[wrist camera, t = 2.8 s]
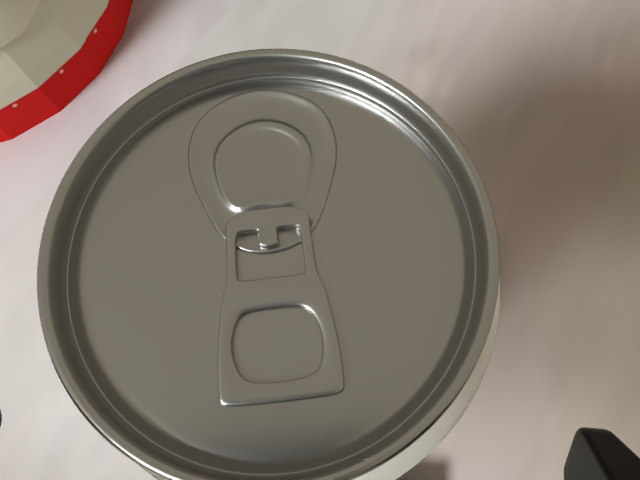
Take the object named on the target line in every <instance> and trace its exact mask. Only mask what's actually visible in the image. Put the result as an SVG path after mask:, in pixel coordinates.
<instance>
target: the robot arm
mask: <svg viewBox="0 0 640 480" xmlns="http://www.w3.org/2000/svg"><path fill="white" fill-rule="evenodd" d="M1 420H2V414H1V410H0V426H1ZM564 480H640V458H639V457H638V456H637V455H636V454H635V453H633V452H632V451H631V450H630V449H629V448H628V447H627V446H626V445H625V444H624V443H623V442H622V441H621V440H619V439H618V438H617V437H616V436H615V435H614V434H613V433H612V432H610V431H608V430H606V429H597V428H585V427H583V428H580V429H578V430H577V431H576V434H575V436H574V439H573V442H572V445H571V448H570V451H569V454H568V457H567V460H566V463H565V467H564Z"/></svg>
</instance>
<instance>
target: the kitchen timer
mask: <svg viewBox="0 0 640 480" xmlns="http://www.w3.org/2000/svg"><path fill="white" fill-rule="evenodd" d="M131 4H132V0H0V142H4V141H7V140H10V139H13V138H15V137H17V136H18V135H20V134H22V133H24V132H25V131H27V130H29V129H31V128H32V127H34V126H36V125H37V124H39V123H41V122H43V121H44V120H46V119H48V118H50V117H51V116H53V115H55V114H57V113H58V112H60V111H61V110H62V109H63V108H64V107H65V106H66V105H67V104H69V103H70V102H71V101H72V100H73V99H74V98H75V97H76V96H77V95H78V94H79V93H80V92H81V91H82V90H83V89H84V88H85V87H86V86H87V85H88V84H89V83H91V82H92V81H93V80H94V79H95V78H96V77H97V76H98V75H99V73H100V72H101V70H102V68H103V67H104V65H105V63H106V62H107V60H108V59H109V57H110V55H111V54H112V52H113V50H114V49H115V47H116V45H117V44H118V42H119V41H120V39H121V37H122V36H123V34H124V31H125V27H126V23H127V19H128V15H129V12H130V8H131Z"/></svg>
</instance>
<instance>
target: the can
mask: <svg viewBox="0 0 640 480" xmlns="http://www.w3.org/2000/svg"><path fill="white" fill-rule="evenodd" d="M499 271H500V259H499V243H498V235H497V228H496V223H495V218H494V214H493V210H492V206H491V203H490V199H489V197H488V194H487V191H486V188H485V186H484V183H483V181H482V178H481V176H480V174H479V172H478V170H477V168H476V166H475V164H474V162H473V160H472V159H471V157H470V155H469V154H468V152H467V150H466V149H465V147H464V146H463V144H462V143H461V141H460V140H459V139H458V137H457V136H456V135H455V133H454V132H453V131H452V130H451V128H450V127H449V126H448V125H447V124H446V123H445V121H444V120H443V119H442V118H441V117H440V116H439V115H438V114H437V113H436V112H435V111H434V110H433V109H432V108H431V107H430V106H428V105H427V104H426V103H425V102H424V101H423V100H421V99H420V98H419V97H418V96H416V95H415V94H414V93H412V92H411V91H410V90H408V89H407V88H405V87H404V86H402V85H401V84H399V83H398V82H396V81H394V80H393V79H391V78H389V77H387V76H386V75H384V74H382V73H380V72H378V71H376V70H373V69H371V68H369V67H367V66H364V65H362V64H359V63H356V62H353V61H351V60H348V59H344V58H341V57H337V56H333V55H329V54H324V53H319V52H313V51H306V50H296V49H258V50H248V51H241V52H235V53H230V54H225V55H221V56H217V57H213V58H209V59H206V60H203V61H200V62H197V63H194V64H192V65H189V66H186V67H184V68H182V69H179V70H177V71H175V72H173V73H171V74H169V75H167V76H165V77H163V78H161V79H159V80H158V81H156V82H154V83H152V84H151V85H149V86H148V87H146V88H144V89H143V90H141V91H140V92H138V93H137V94H136V95H134V96H133V97H132V98H130V99H129V100H128V101H126V102H125V103H124V104H123V105H121V106H120V107H119V108H118V109H117V110H116V111H115V112H113V113H112V114H111V115H110V116H109V117H108V118H107V119H106V120H105V121H104V122H103V123H102V124H101V125H100V126H99V127H98V128H97V130H96V131H95V132H94V133H93V134H92V135H91V136H90V138H89V139H88V140H87V141H86V143H85V144H84V145H83V147H82V148H81V149H80V151H79V152H78V154H77V155H76V157H75V158H74V160H73V161H72V163H71V165H70V166H69V168H68V170H67V171H66V173H65V175H64V177H63V179H62V181H61V183H60V185H59V187H58V189H57V191H56V193H55V196H54V198H53V201H52V203H51V206H50V209H49V212H48V215H47V218H46V221H45V225H44V229H43V233H42V238H41V243H40V249H39V257H38V268H37V297H38V308H39V315H40V321H41V326H42V331H43V335H44V339H45V342H46V346H47V349H48V352H49V355H50V357H51V360H52V363H53V365H54V367H55V370H56V372H57V374H58V376H59V378H60V380H61V382H62V384H63V386H64V387H65V389H66V391H67V393H68V394H69V396H70V397H71V399H72V401H73V402H74V404H75V405H76V406H77V408H78V409H79V411H80V412H81V413H82V414H83V416H84V417H85V418H86V419H87V421H88V422H89V423H90V424H91V425H92V426H93V427H94V428H95V429H96V430H97V432H98V433H99V434H100V435H101V436H102V437H103V438H105V439H106V440H107V441H108V442H109V443H110V444H111V445H112V446H114V447H115V448H116V449H117V450H119V451H120V452H121V453H122V454H124V455H125V456H127V457H128V458H129V459H131V460H132V461H134V462H135V463H137V464H138V465H139V466H140V467H142V468H143V469H144V470H145V471H147V472H148V473H149V474H151V475H152V476H154V477H155V478H157V479H158V480H395V479H397V478H398V477H400V476H402V475H403V474H404V473H406V472H407V471H409V470H410V469H411V468H413V467H414V466H415V465H416V464H418V463H419V462H420V461H421V460H422V459H424V458H425V457H426V456H427V455H428V454H429V453H430V452H431V451H432V450H433V449H434V448H435V447H436V446H437V445H438V444H439V443H440V442H441V441H442V440H443V439H444V438H445V437H446V436H447V434H448V433H449V432H450V431H451V430H452V428H453V427H454V426H455V424H456V423H457V422H458V420H459V419H460V418H461V416H462V415H463V413H464V412H465V410H466V409H467V407H468V405H469V404H470V402H471V400H472V398H473V397H474V395H475V393H476V391H477V389H478V387H479V385H480V382H481V380H482V378H483V376H484V373H485V371H486V368H487V365H488V362H489V359H490V356H491V353H492V349H493V346H494V341H495V337H496V332H497V326H498V319H499V308H500V278H499Z"/></svg>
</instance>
